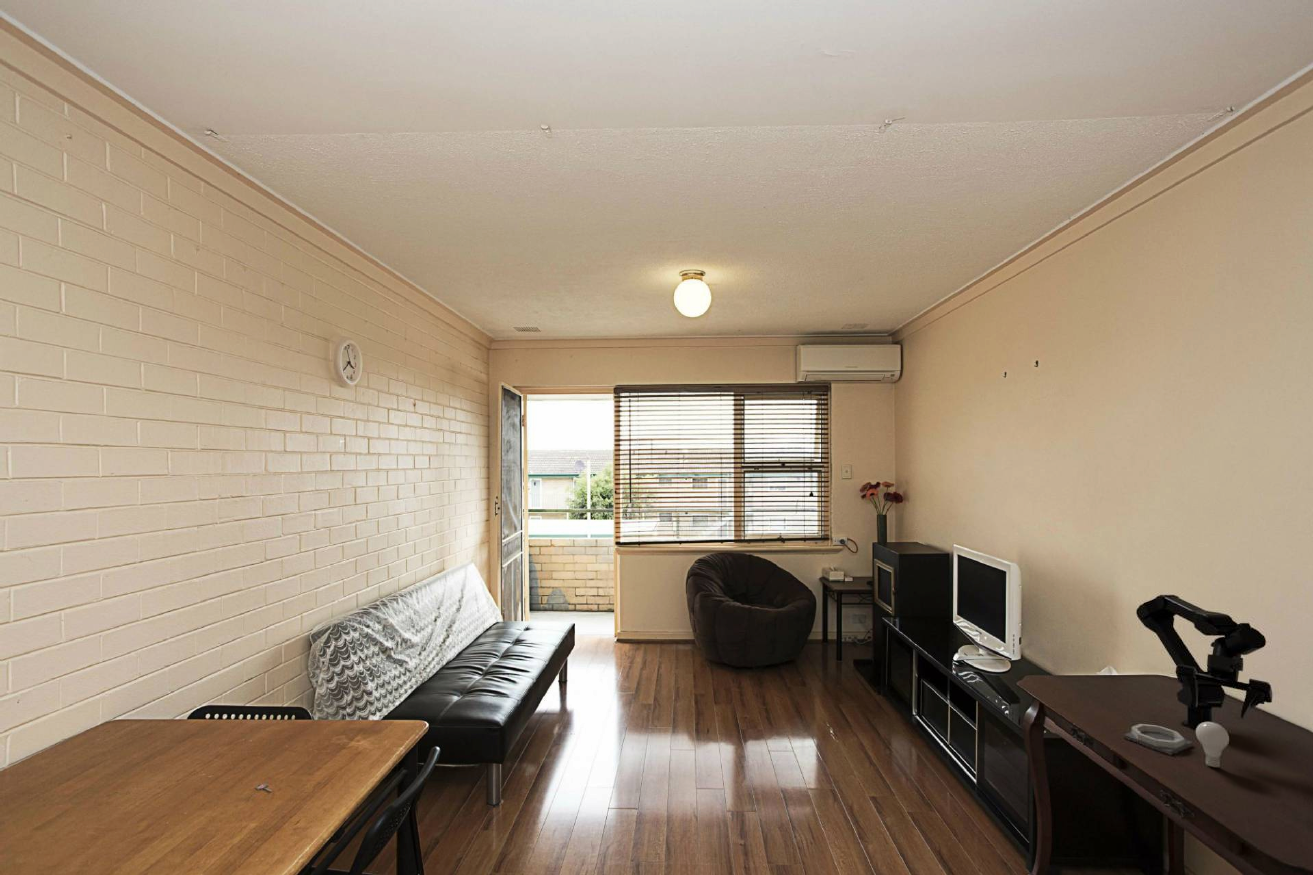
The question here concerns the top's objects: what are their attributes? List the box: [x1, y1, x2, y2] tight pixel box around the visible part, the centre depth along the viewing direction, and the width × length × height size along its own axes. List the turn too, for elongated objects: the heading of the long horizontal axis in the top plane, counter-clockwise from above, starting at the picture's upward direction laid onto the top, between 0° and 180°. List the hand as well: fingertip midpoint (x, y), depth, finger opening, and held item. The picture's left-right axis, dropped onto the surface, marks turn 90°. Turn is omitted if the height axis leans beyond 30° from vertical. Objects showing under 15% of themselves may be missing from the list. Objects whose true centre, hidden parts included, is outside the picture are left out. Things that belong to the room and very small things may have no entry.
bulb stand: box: [1123, 723, 1193, 756], centre depth 177 cm, size 11×11×2 cm
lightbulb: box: [1195, 721, 1230, 768], centre depth 164 cm, size 6×6×11 cm
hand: (1218, 712), depth 168 cm, fingers open, 9 cm apart
